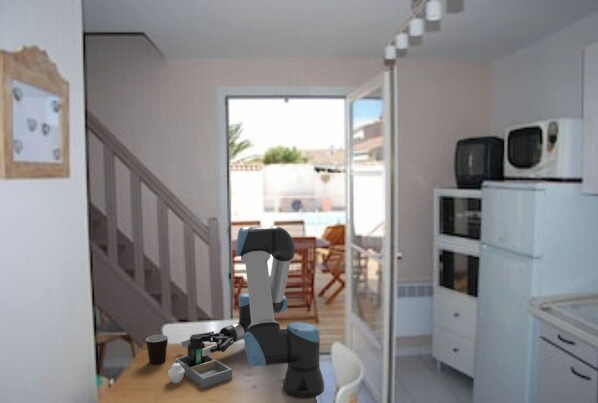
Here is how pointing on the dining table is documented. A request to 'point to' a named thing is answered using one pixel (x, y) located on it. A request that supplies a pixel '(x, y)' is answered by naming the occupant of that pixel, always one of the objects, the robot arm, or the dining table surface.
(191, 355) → the supplement bottle
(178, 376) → the white lumpy chunk
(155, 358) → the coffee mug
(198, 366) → the caddy
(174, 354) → the dining table surface
